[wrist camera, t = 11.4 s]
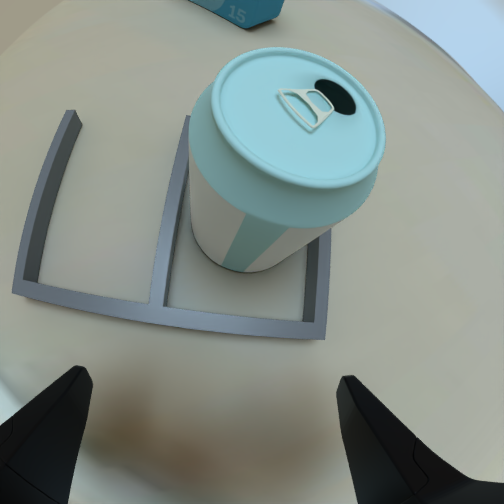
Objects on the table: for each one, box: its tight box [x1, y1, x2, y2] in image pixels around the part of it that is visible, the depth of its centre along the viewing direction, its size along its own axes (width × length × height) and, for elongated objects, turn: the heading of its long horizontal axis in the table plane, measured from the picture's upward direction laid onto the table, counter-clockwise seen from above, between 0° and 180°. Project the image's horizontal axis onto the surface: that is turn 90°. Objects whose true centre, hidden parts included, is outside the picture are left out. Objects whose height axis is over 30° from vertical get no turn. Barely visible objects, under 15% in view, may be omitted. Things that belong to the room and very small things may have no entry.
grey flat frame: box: [12, 110, 331, 340], centre depth 17 cm, size 14×20×3 cm
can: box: [189, 47, 386, 272], centre depth 14 cm, size 7×7×12 cm
